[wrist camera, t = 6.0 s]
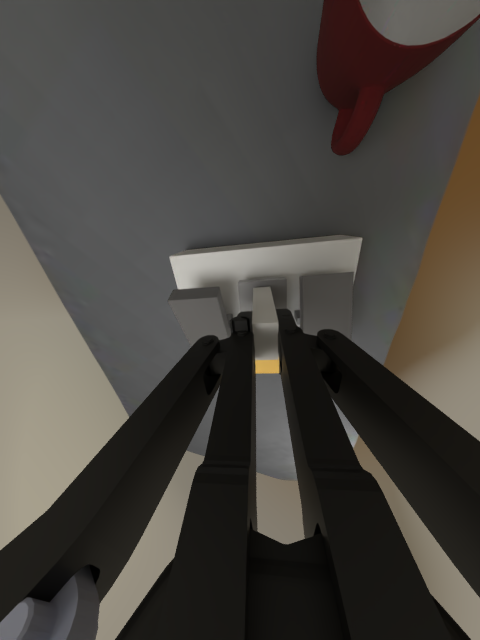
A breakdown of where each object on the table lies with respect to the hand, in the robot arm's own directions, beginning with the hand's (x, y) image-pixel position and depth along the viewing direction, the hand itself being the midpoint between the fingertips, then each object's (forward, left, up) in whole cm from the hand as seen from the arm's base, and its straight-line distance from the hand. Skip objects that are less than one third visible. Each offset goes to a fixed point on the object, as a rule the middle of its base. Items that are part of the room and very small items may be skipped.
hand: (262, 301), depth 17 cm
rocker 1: (+3, -6, -1) cm, 7 cm away
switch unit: (+3, 0, -9) cm, 9 cm away
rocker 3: (+3, +6, -1) cm, 7 cm away
